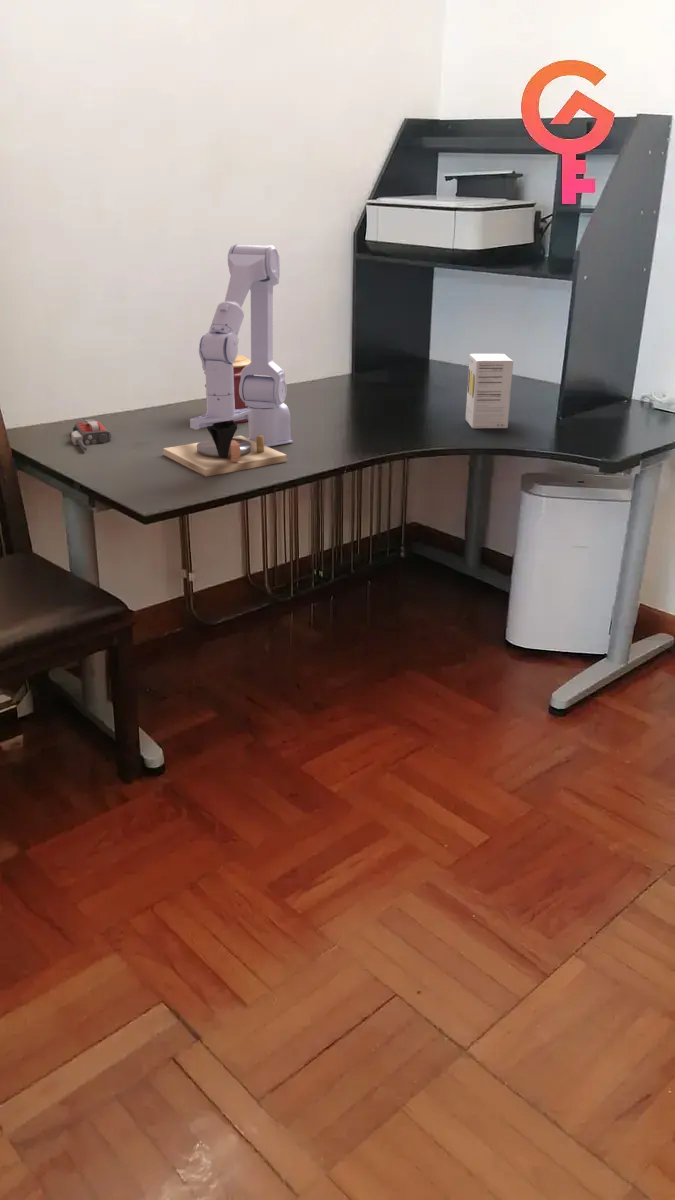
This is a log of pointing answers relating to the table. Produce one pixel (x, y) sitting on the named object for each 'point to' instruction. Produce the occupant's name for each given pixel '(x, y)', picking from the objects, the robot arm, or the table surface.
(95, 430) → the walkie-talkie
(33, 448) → the table surface
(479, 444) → the table surface
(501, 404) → the supplement box
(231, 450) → the flange
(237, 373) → the canister
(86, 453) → the table surface
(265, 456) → the base plate
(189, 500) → the table surface
